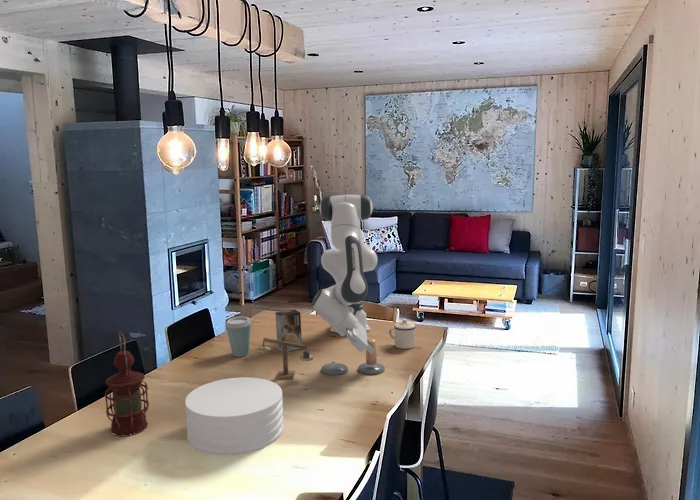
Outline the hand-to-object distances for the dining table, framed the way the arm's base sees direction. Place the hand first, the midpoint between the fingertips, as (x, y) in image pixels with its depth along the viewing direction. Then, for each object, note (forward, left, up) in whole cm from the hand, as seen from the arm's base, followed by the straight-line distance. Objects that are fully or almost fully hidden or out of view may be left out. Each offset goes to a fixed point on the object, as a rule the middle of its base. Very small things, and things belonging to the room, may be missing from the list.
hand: (372, 349), depth 215 cm
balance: (+5, -33, -8) cm, 34 cm away
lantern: (+45, -76, -8) cm, 88 cm away
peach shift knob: (0, -1, -5) cm, 5 cm away
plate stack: (+48, -43, -8) cm, 65 cm away
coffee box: (-26, -35, -8) cm, 44 cm away
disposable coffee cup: (-20, -55, -8) cm, 59 cm away
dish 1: (0, -15, -8) cm, 17 cm away
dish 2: (0, -1, -8) cm, 8 cm away
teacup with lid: (-28, +13, -8) cm, 32 cm away
